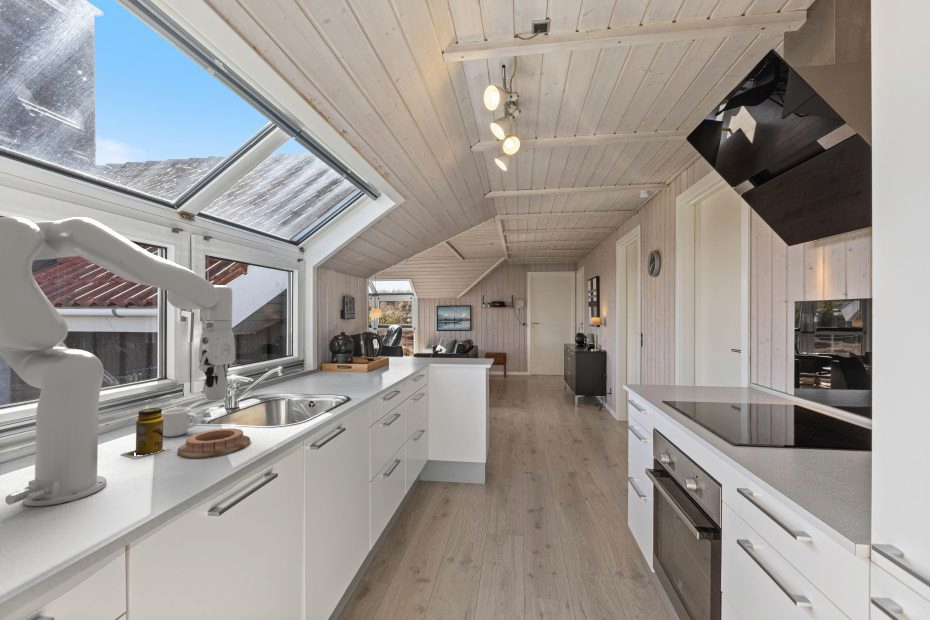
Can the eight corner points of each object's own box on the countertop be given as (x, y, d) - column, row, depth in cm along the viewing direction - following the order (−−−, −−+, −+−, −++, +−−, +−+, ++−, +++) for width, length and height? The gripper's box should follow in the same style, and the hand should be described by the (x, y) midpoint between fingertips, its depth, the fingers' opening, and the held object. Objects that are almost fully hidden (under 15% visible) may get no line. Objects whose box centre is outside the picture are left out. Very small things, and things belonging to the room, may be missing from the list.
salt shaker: (218, 400, 110) (219, 356, 110) (199, 400, 110) (200, 355, 110) (231, 396, 116) (232, 354, 116) (213, 396, 116) (214, 353, 116)
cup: (204, 430, 129) (204, 407, 129) (189, 438, 121) (189, 413, 121) (171, 431, 128) (171, 407, 129) (153, 438, 120) (154, 413, 121)
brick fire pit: (224, 459, 104) (224, 446, 104) (160, 457, 104) (160, 445, 104) (262, 438, 122) (262, 427, 122) (207, 437, 122) (208, 426, 122)
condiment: (169, 449, 111) (170, 408, 111) (135, 459, 103) (136, 415, 104) (155, 445, 114) (155, 405, 114) (120, 455, 106) (121, 412, 106)
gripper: (209, 327, 105) (208, 394, 105) (246, 326, 121) (245, 383, 121) (183, 327, 106) (182, 393, 105) (223, 325, 122) (222, 383, 122)
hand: (216, 387), depth 113 cm, fingers closed on salt shaker, 3 cm apart
